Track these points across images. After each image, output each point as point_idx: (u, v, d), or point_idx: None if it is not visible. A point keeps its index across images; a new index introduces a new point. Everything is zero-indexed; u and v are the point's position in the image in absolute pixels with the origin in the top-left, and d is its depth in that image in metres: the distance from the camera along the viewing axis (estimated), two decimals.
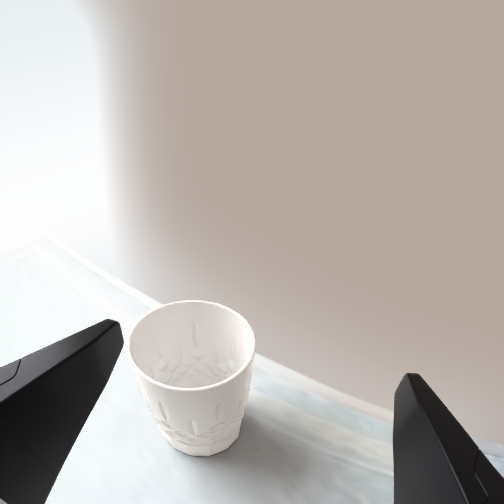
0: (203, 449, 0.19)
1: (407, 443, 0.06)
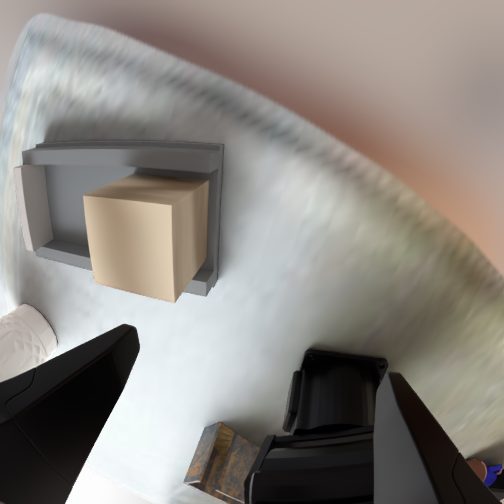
0: (43, 336, 0.27)
1: (386, 443, 0.06)
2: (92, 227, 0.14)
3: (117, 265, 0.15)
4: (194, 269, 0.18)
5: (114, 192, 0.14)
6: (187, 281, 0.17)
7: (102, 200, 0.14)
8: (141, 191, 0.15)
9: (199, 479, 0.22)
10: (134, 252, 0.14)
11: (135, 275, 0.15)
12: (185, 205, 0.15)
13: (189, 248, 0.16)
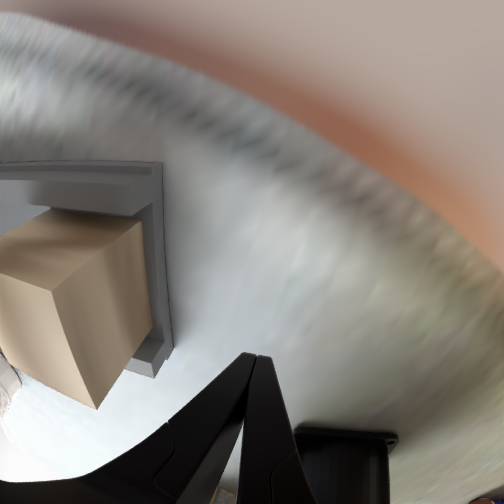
0: (4, 378, 0.21)
1: (243, 428, 0.07)
2: None
3: (21, 351, 0.09)
4: (130, 351, 0.11)
5: (0, 253, 0.08)
6: (117, 372, 0.10)
7: None
8: (32, 251, 0.08)
9: None
10: (31, 342, 0.08)
11: (42, 369, 0.09)
12: (88, 277, 0.08)
13: (112, 331, 0.10)
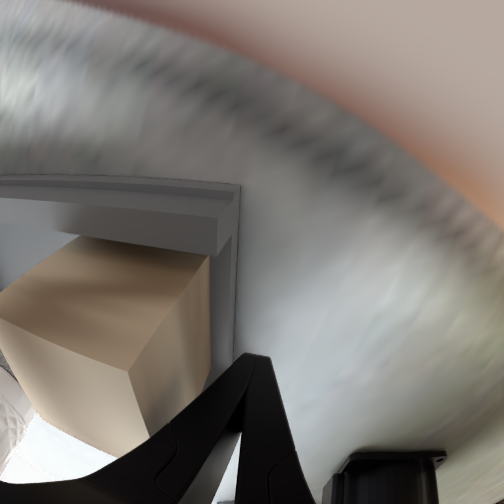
0: (19, 404, 0.19)
1: None
2: (10, 357, 0.06)
3: (63, 415, 0.07)
4: None
5: (30, 302, 0.06)
6: None
7: (7, 324, 0.06)
8: (77, 300, 0.07)
9: None
10: (82, 411, 0.07)
11: (93, 435, 0.07)
12: (164, 339, 0.07)
13: (181, 389, 0.08)
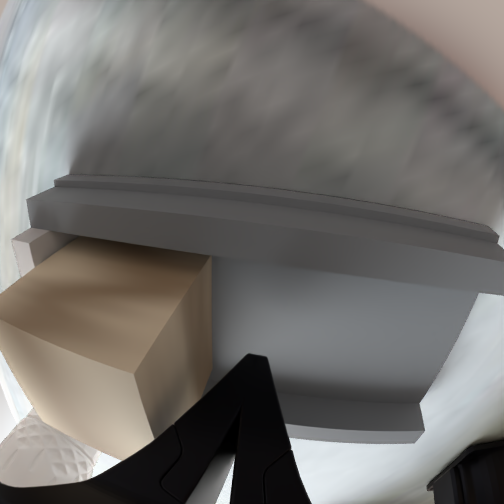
0: None
1: None
2: (11, 360, 0.06)
3: (65, 417, 0.07)
4: None
5: (31, 303, 0.06)
6: None
7: (8, 326, 0.06)
8: (79, 302, 0.07)
9: None
10: (84, 414, 0.06)
11: (96, 437, 0.07)
12: (168, 340, 0.07)
13: (185, 390, 0.08)
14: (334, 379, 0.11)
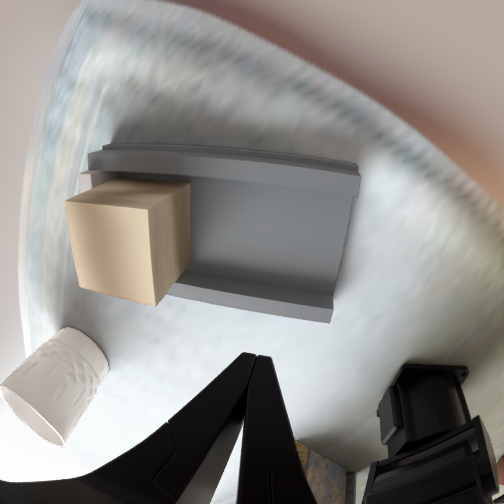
0: (96, 363, 0.26)
1: None
2: (75, 232, 0.14)
3: (99, 269, 0.15)
4: (177, 272, 0.17)
5: (95, 197, 0.14)
6: (169, 284, 0.16)
7: (82, 205, 0.13)
8: (121, 195, 0.14)
9: None
10: (114, 256, 0.14)
11: (116, 279, 0.15)
12: (164, 209, 0.14)
13: (170, 252, 0.16)
14: (266, 267, 0.19)
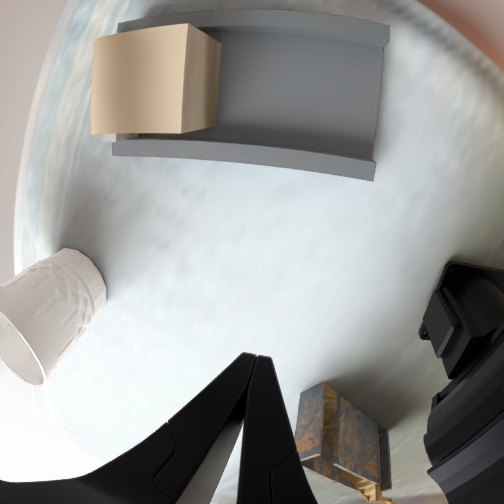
0: (92, 285, 0.23)
1: (243, 428, 0.07)
2: (99, 67, 0.12)
3: (119, 102, 0.12)
4: (204, 122, 0.15)
5: None
6: (195, 125, 0.14)
7: (114, 36, 0.11)
8: None
9: (318, 452, 0.19)
10: (140, 81, 0.12)
11: (138, 109, 0.12)
12: (200, 40, 0.12)
13: (200, 90, 0.14)
14: (299, 125, 0.16)
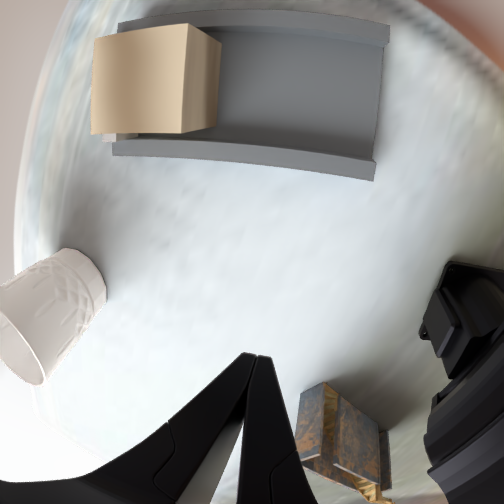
0: (92, 285, 0.23)
1: (243, 428, 0.07)
2: (99, 67, 0.12)
3: (120, 102, 0.12)
4: (204, 122, 0.15)
5: None
6: (196, 125, 0.14)
7: (114, 36, 0.11)
8: None
9: (318, 452, 0.19)
10: (140, 81, 0.12)
11: (138, 109, 0.12)
12: (200, 40, 0.12)
13: (200, 90, 0.14)
14: (299, 125, 0.16)
